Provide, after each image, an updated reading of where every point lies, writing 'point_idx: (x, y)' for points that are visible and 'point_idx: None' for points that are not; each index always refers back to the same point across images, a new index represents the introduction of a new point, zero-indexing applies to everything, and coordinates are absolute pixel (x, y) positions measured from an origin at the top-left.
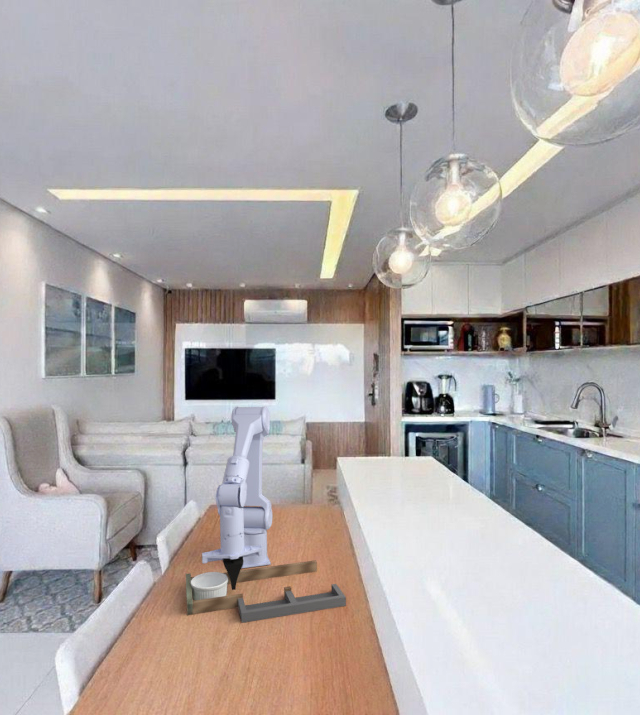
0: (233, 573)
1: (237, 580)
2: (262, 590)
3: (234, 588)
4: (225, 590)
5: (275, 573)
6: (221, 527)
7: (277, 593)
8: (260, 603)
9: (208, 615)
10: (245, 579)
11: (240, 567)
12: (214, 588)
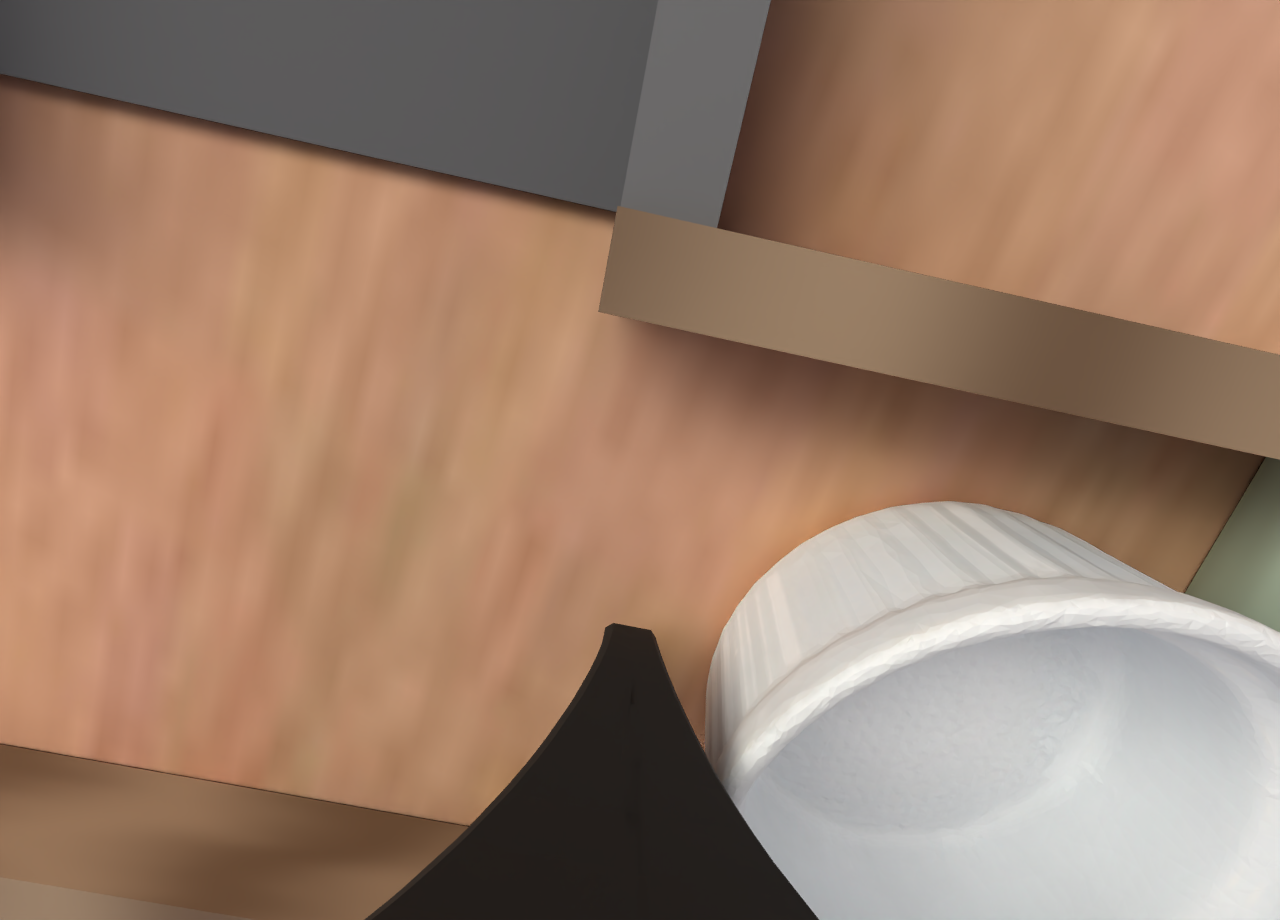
0: (642, 824)
1: None
2: (256, 532)
3: (623, 631)
4: (778, 619)
5: (1, 789)
6: None
7: (62, 348)
8: (357, 139)
9: (1164, 224)
10: (398, 836)
11: (420, 914)
12: (1103, 588)
